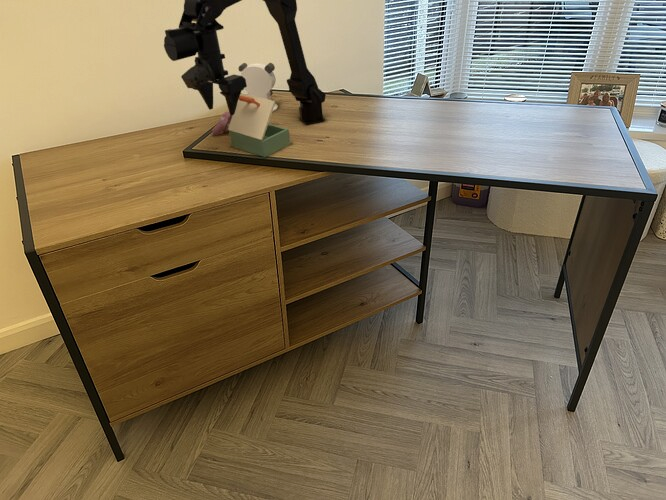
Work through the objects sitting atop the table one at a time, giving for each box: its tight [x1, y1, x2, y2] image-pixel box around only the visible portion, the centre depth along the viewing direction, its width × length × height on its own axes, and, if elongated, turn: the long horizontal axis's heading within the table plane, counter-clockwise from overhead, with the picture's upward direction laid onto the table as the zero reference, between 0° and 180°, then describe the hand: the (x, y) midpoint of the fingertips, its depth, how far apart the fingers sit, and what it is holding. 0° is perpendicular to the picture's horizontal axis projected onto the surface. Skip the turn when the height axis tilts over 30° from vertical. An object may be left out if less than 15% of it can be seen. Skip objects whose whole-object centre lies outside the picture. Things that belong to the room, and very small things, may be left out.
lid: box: [227, 92, 277, 140], centre depth 134 cm, size 11×14×4 cm
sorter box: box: [228, 123, 291, 158], centre depth 141 cm, size 10×14×5 cm
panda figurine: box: [238, 62, 278, 112], centre depth 164 cm, size 12×11×15 cm
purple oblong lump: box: [211, 110, 233, 136], centre depth 152 cm, size 10×5×7 cm, turn 168°
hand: (221, 112), depth 130 cm, fingers open, 9 cm apart
